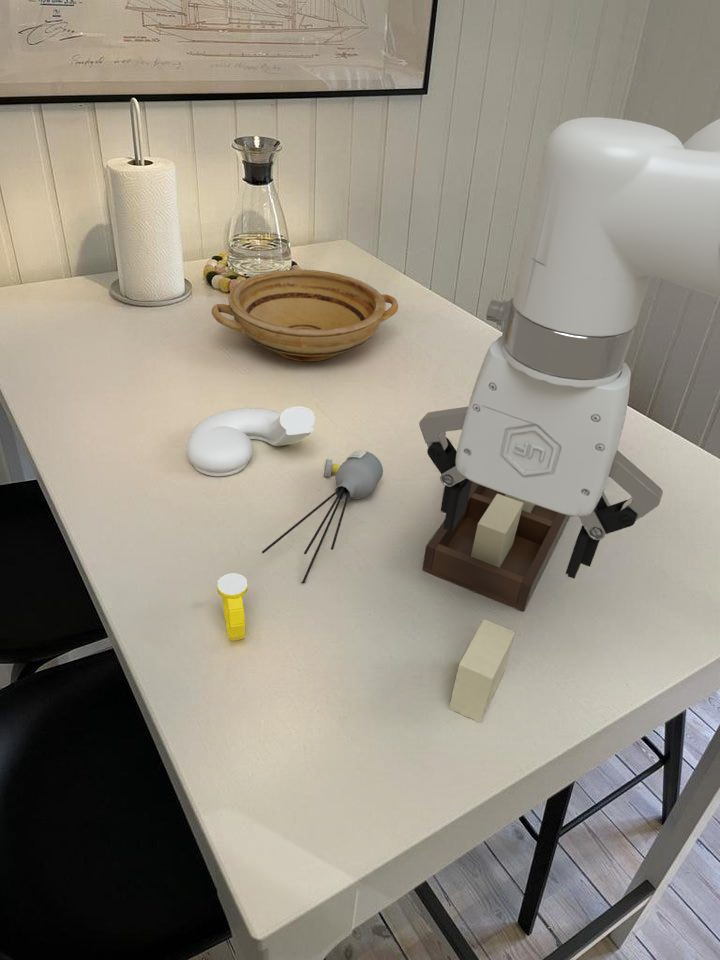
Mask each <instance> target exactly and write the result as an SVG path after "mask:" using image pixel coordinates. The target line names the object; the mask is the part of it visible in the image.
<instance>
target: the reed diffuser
mask: <svg viewBox="0 0 720 960" xmlns="http://www.w3.org/2000/svg"><path fill="white" fill-rule="evenodd" d="M323 471H324V472H323V477H326V478H327V477H328V478H331V476H332V475H331V474H335V483H336V486H337V487H336V489H335V490H334V491H335V492H333V493H332V494H331V495H330V496H328V497H327V498H326V499H324V500H323V501H322V502H321V503H320V504H318V505H317V506H316V507H315V508H313V509H312V510H311V511H310V512H308V513H307V514H306V515H305V516H304V517H302V518H301V519H300V520H299V521H297V522H296V523H295V524H294V525H293V526H291V527H289V528H288V530H287V531H285V532H284V533H283V534H282V535H280V536H279V537H278V538H276V539H275V540H274V541H273V542H272V543H270V544H269V545H268V546H266V547H265V548H264V549H263V550H262V551H261V554H265V553H266V552H267V551H269V549H272V547H274V546H275V545H276V544H278V542H280V541H281V540H282V539H283V538H285V537H286V536H287V535H288V534H290V532H292V531H293V530H294V529H295V528H297V527H298V526H299V525H301V523H303V522H304V521H306V520H307V519H308V518H309V517H310V516H311V515H313V514H314V513H315V512H316V511H318V510H319V509H320V508H321V507H322V506H324V505H325V504H326V503H327V502H328V501H330V500H331V499H332V498H334V497H335V496H336V497H335V499H334V501H333V502H332V503H331V506H330V507H329V509H328V511H327V513H326V514H325V516H324V518H323V519H322V521H321V523H320V524H319V526H318V527H317V530H316V531H315V533H314V534H313V537H312V538H311V539H310V542H309V543H308V545H307V547H306V548H305V550H304V552H303V554H304V555H307V554H308V552H309V550H310V549H311V547H312V545H313V544H314V542H315V540H316V538H317V537H318V535H319V533H320V532H321V529H322V528H323V526H324V524H325V523H326V521H327V520H328V517H329V516H330V514H331V516H330V518H329V520H328V522H327V525H326V527H325V529H324V532H323V533H322V535H321V538H320V540H319V543H318V545H317V547H316V550H315V551H314V554H313V557H312V558H311V561H310V563H309V565H308V567H307V570H306V572H305V574H304V577H303V579H302V581H301V584H305V582H306V580H307V578H308V576H309V573H310V571H311V569H312V567H313V564H314V562H315V560H316V557H317V555H318V553H319V551H320V549H321V546H322V544H323V541H324V539H325V537H326V534H327V533H328V530H329V528H330V526H331V523H332V521H333V520H334V516H335V515H336V512H337V510H338V508H339V506H340V503H341V501H344V503H343V505H342V510H341V513H340V516H339V519H338V523H337V526H336V530H335V533H334V537H333V540H332V543H331V546H330V550H331V551H333V550H334V549H335V545H336V543H337V542H336V541H337V538H338V535H339V532H340V528H341V525H342V521H343V518H344V515H345V511H346V507H347V503H348V500H349V499H354V500H358V499H360V500H361V499H363V498H366V497H367V496H369V495H370V494H371V493H372V492H373V490H374V489H375V488H376V487H377V485H378V484H379V483H380V481H381V479H382V477H383V475H384V469H383V464H382V463H381V461H380V459H379V458H378V457H377V456H376V455H375V454H374V453H372V452H369V451H367V450H361V449H360V450H355V451H352V453H350V455H349V456H347V457H346V459H345V460H344V461H343V462H342V463H341V464H336V463H333V459H330V458H326V459H325V465H324V470H323ZM331 512H332V513H331Z"/></svg>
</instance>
